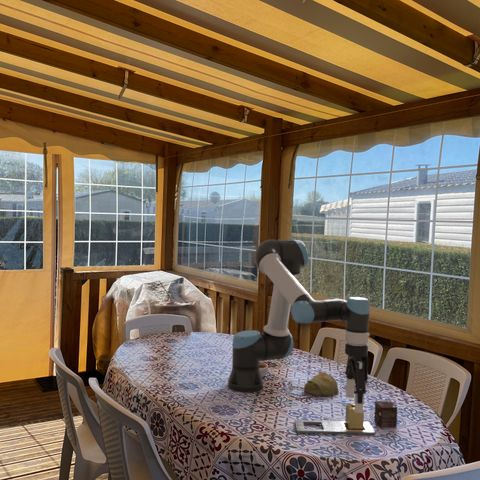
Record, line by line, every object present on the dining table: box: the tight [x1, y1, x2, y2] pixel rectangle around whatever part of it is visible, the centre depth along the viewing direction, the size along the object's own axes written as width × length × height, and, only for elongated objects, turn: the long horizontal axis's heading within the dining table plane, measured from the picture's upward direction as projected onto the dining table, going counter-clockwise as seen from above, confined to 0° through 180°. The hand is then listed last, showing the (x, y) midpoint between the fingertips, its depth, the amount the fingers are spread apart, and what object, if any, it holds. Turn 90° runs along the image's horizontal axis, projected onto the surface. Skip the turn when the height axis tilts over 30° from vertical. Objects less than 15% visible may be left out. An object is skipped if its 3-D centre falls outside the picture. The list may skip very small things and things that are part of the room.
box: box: [373, 400, 398, 429], centre depth 176 cm, size 6×6×7 cm
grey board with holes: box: [294, 419, 376, 436], centre depth 171 cm, size 26×9×1 cm, turn 90°
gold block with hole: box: [345, 403, 365, 430], centre depth 171 cm, size 5×5×8 cm
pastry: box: [303, 372, 339, 397], centre depth 209 cm, size 14×12×8 cm
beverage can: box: [352, 355, 369, 383], centre depth 227 cm, size 7×7×12 cm
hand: (354, 404), depth 171 cm, fingers open, 13 cm apart
